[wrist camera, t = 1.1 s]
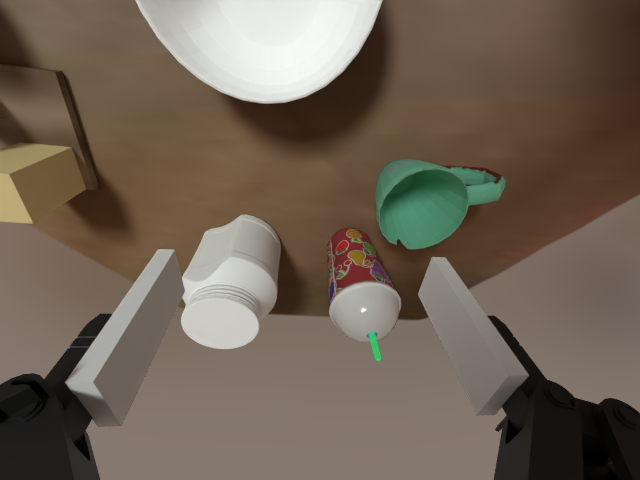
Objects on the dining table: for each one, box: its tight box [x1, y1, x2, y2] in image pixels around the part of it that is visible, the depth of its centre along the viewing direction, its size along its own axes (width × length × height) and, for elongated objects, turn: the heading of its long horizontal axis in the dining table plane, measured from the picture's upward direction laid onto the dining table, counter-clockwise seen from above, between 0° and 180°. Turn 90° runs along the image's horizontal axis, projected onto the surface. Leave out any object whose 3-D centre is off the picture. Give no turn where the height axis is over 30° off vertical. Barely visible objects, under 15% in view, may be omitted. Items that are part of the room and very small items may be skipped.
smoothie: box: [327, 228, 401, 361], centre depth 36 cm, size 8×8×20 cm
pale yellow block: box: [0, 142, 86, 223], centre depth 30 cm, size 5×5×9 cm
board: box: [0, 63, 99, 190], centre depth 32 cm, size 13×12×1 cm
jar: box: [181, 214, 281, 349], centre depth 37 cm, size 12×10×15 cm
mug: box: [375, 159, 505, 249], centre depth 34 cm, size 15×10×10 cm
